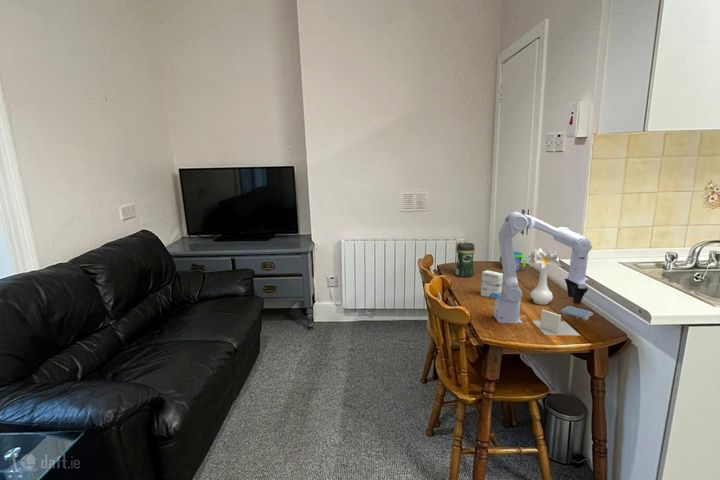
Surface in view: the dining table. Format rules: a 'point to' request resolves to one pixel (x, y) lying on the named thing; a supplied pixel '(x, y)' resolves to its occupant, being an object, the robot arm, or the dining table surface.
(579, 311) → the woven mat
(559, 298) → the dining table surface
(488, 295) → the ink box
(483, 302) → the dining table surface
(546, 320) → the tile
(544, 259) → the flower vase
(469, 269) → the coffee jar
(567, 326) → the felt pad
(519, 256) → the snack cup
